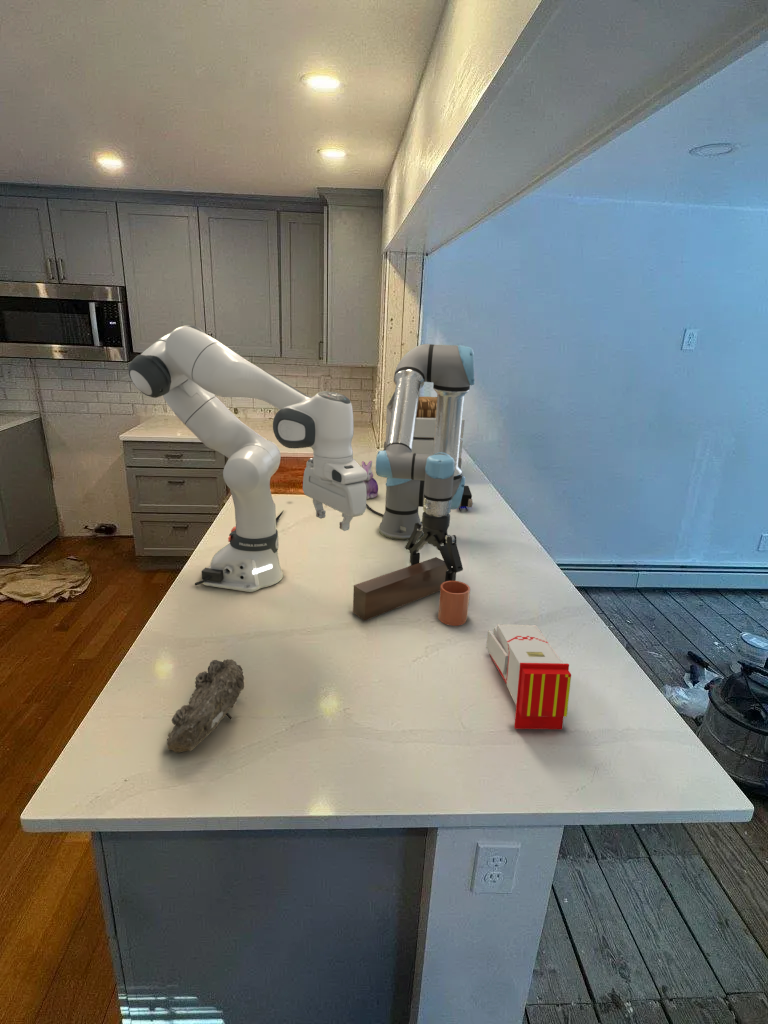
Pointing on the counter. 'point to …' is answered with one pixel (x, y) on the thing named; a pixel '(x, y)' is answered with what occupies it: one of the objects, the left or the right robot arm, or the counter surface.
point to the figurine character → (466, 499)
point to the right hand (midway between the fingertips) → (430, 583)
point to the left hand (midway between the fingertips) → (332, 523)
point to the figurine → (370, 481)
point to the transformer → (423, 426)
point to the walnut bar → (398, 588)
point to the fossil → (206, 705)
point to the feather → (278, 517)
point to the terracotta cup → (453, 603)
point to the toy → (531, 675)
